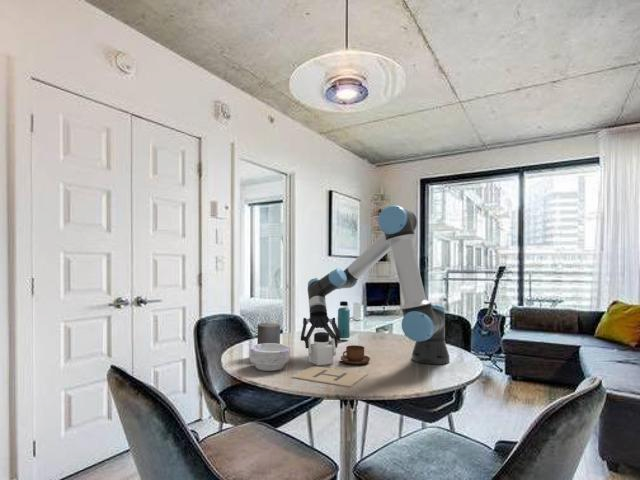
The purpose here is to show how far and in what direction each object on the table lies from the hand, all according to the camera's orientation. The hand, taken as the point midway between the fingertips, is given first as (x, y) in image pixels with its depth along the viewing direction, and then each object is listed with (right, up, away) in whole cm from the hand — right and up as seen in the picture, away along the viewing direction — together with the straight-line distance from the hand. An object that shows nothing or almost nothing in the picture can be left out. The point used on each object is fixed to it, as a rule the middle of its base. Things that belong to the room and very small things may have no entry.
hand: (322, 354), depth 155 cm
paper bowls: (-20, -4, -5) cm, 21 cm away
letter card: (+3, -3, -15) cm, 16 cm away
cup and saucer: (+13, -5, +5) cm, 15 cm away
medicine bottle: (0, -4, +3) cm, 5 cm away
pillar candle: (-23, -5, +12) cm, 26 cm away
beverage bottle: (+11, -7, +49) cm, 50 cm away
